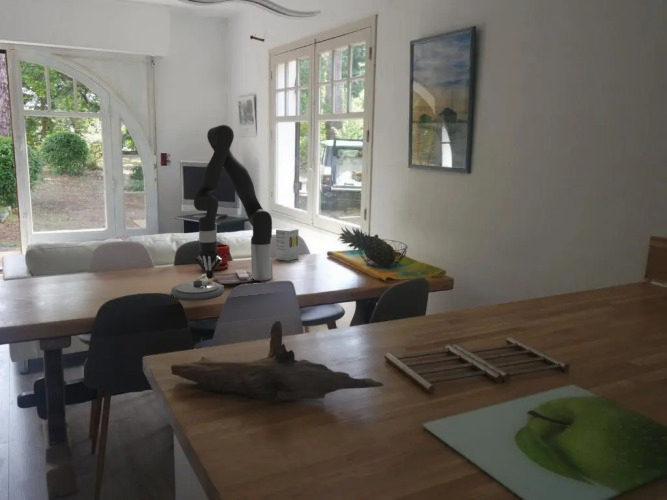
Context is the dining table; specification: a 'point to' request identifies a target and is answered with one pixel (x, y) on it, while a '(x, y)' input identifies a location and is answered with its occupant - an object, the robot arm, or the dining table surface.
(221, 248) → the plant pot
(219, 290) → the dial base
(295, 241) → the supplement box
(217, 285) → the dial
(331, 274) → the dining table surface
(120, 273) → the dining table surface
